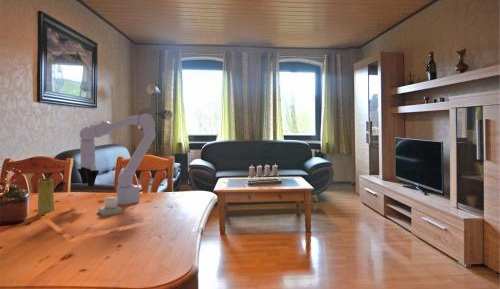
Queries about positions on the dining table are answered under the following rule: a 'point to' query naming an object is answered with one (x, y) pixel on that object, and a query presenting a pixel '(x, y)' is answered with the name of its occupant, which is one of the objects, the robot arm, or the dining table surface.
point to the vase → (45, 196)
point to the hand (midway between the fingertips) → (88, 185)
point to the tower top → (109, 211)
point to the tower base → (109, 215)
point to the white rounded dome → (110, 202)
